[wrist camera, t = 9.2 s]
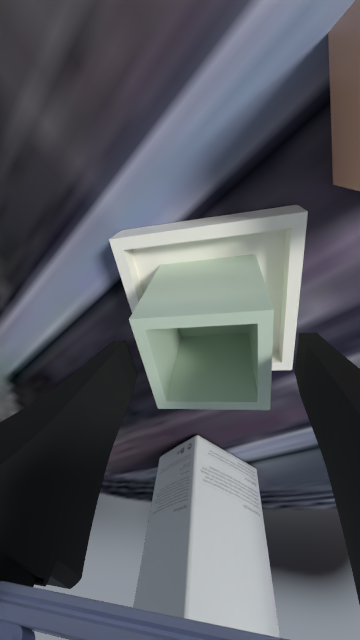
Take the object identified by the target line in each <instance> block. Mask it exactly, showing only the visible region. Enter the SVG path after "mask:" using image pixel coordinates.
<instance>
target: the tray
mask: <svg viewBox="0 0 360 640" xmlns="http://www.w3.org/2000/svg"><path fill="white" fill-rule="evenodd" d="M307 216H308V211H306V210H305V209H303V208H302V207H300V206H299V205H291V206H284V207H277V208H270V209H263V210H257V211H250V212H243V213H236V214H230V215H223V216H216V217H209V218H202V219H196V220H189V221H182V222H175V223H169V224H162V225H155V226H148V227H141V228H135V229H128V230H121V231H120V232H119V233H117V234H116V235H114V236H113V237H112V238H110V239H109V241H110V244H111V248H112V251H113V254H114V257H115V260H116V264H117V267H118V270H119V273H120V276H121V280H122V283H123V286H124V289H125V292H126V296H127V299H128V302H129V305H130V308H131V311H132V313H133V311H134V310H135V308H136V306H137V304H138V303H139V301H140V299H141V297H142V296H143V294H144V292H145V291H146V289H147V287H148V285H149V284H150V282H151V280H152V278H153V277H154V275H155V273H156V271H157V270H158V268H159V266H160V265H163V264H171V263H180V262H189V261H198V260H207V259H216V258H225V257H234V256H243V255H251V254H255V255H256V257H257V260H258V263H259V266H260V269H261V272H262V275H263V278H264V281H265V284H266V287H267V290H268V293H269V296H270V299H271V302H272V305H273V308H274V325H273V349H272V370H292V365H293V355H294V345H295V335H296V325H297V315H298V305H299V295H300V286H301V276H302V266H303V256H304V246H305V236H306V226H307Z"/></svg>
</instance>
